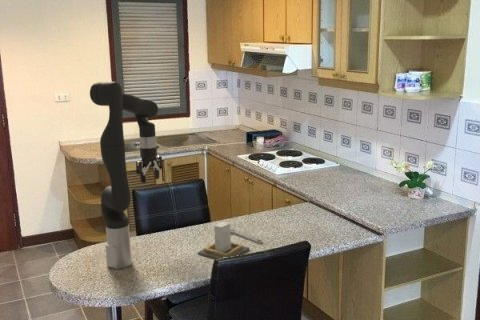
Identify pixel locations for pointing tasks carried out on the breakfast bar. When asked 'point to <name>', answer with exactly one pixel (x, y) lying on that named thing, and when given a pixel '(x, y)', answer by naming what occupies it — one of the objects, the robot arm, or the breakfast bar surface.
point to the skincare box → (222, 237)
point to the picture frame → (212, 253)
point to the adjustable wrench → (244, 235)
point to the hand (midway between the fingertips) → (150, 180)
